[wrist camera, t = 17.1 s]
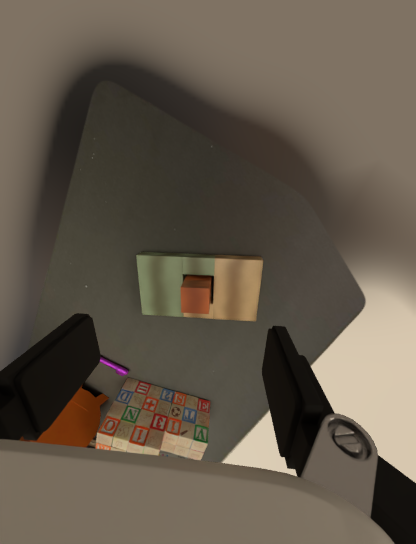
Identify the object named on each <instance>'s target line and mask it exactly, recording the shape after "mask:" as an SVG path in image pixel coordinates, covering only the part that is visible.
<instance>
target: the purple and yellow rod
mask: <svg viewBox="0 0 416 544" xmlns="http://www.w3.org/2000/svg"><path fill="white" fill-rule="evenodd" d="M100 362H101V363H103V364H105V365H107V366H109V367H111V368H113V369H115V370H116V373H117V374H119V375H121V376H123V375H127V374H128V372H129V371H128V370H127V369H125V368H123V367H121V366H118V365H116V364H115V363H113V362H111V361H109V360H107V359H105V358H103V357H101V359H100Z"/></svg>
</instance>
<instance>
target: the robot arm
mask: <svg viewBox="0 0 416 544" xmlns="http://www.w3.org/2000/svg"><path fill="white" fill-rule="evenodd" d="M100 359H101V355H100V350H99V346H98V342H97V337H96V333H95V328H94V324H93V319H92V318H91V317H90V316H89V315H88V314H79V313H77V314H74V315H73V316H72V317H70V318H69V319H68V320H66V321H65V322H64V323H63V324H61V325H60V326H59V327H57V328H56V329H55V330H53V331H52V332H51V333H50V334H48V335H47V336H46V337H44V338H43V339H42V340H40V341H39V342H38V343H37V344H35V345H34V346H33V347H31V348H30V349H29V350H27V351H26V352H25V353H24V354H22V355H21V356H20V357H18V358H17V359H16V360H14V361H13V362H12V363H11V364H9V365H8V366H7V367H5V368H4V369H3V370H2V371H0V544H416V483H415V482H413V481H412V480H411V479H409V478H408V477H406V476H405V475H404V474H403V473H401V472H400V471H399V470H397V469H396V468H395V467H393V466H392V465H391V464H389V463H388V462H387V461H385V460H384V459H383V458H381V457H380V456H378V454H377V448H376V446H375V444H374V441H373V440H372V438H371V437H370V435H369V434H368V433H367V432H366V431H365V430H364V429H363V428H362V427H361V426H360V425H359V424H358V423H356V422H355V421H354V420H352V419H350V418H348V417H346V416H344V415H340V414H335V413H334V411H333V409H332V407H331V405H330V403H329V401H328V400H327V398H326V396H325V394H324V392H323V390H322V388H321V386H320V384H319V382H318V380H317V379H316V377H315V374H314V373H313V371H312V369H311V367H310V365H309V363H308V361H307V359H306V358H305V357H304V356H303V355H299V354H298V352H297V350H296V348H295V346H294V344H293V342H292V340H291V338H290V335H289V333H288V331H287V329H286V328H285V327H283V326H273V327H272V329H269V330H268V335H267V341H266V348H265V354H264V360H263V366H262V376H263V381H264V385H265V390H266V394H267V399H268V404H269V408H270V413H271V417H272V422H273V426H274V431H275V435H276V440H277V444H278V449H279V453H280V456H281V457H285V460H286V464H287V468H290V469H295V470H296V473H297V476H293V475H290V474H287V473H282V472H277V471H272V470H267V469H261V468H254V467H247V466H239V465H232V464H225V463H218V462H209V461H200V460H192V459H183V458H174V457H166V456H157V455H148V454H139V453H130V452H121V451H112V450H103V449H94V448H85V447H75V446H66V445H56V444H46V443H37V442H27V441H19V440H20V439H21V437H22V436H23V438H24V440H33V441H37V440H38V438H39V437H40V436H41V435H42V433H43V432H45V431H46V430H48V429H49V428H50V426H51V425H52V424H53V422H54V421H55V420H56V419H57V417H58V416H59V415H60V413H61V412H62V411H63V409H64V408H65V407H66V405H67V404H68V403H69V401H70V400H71V399H72V398H73V396H74V395H75V394H76V392H77V391H78V390H79V388H80V387H81V386H82V384H83V383H84V382H85V381H86V379H87V378H88V377H89V375H90V374H91V373H92V371H93V370H94V369H95V367H96V366H97V365H98V363H99V362H100Z"/></svg>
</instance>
